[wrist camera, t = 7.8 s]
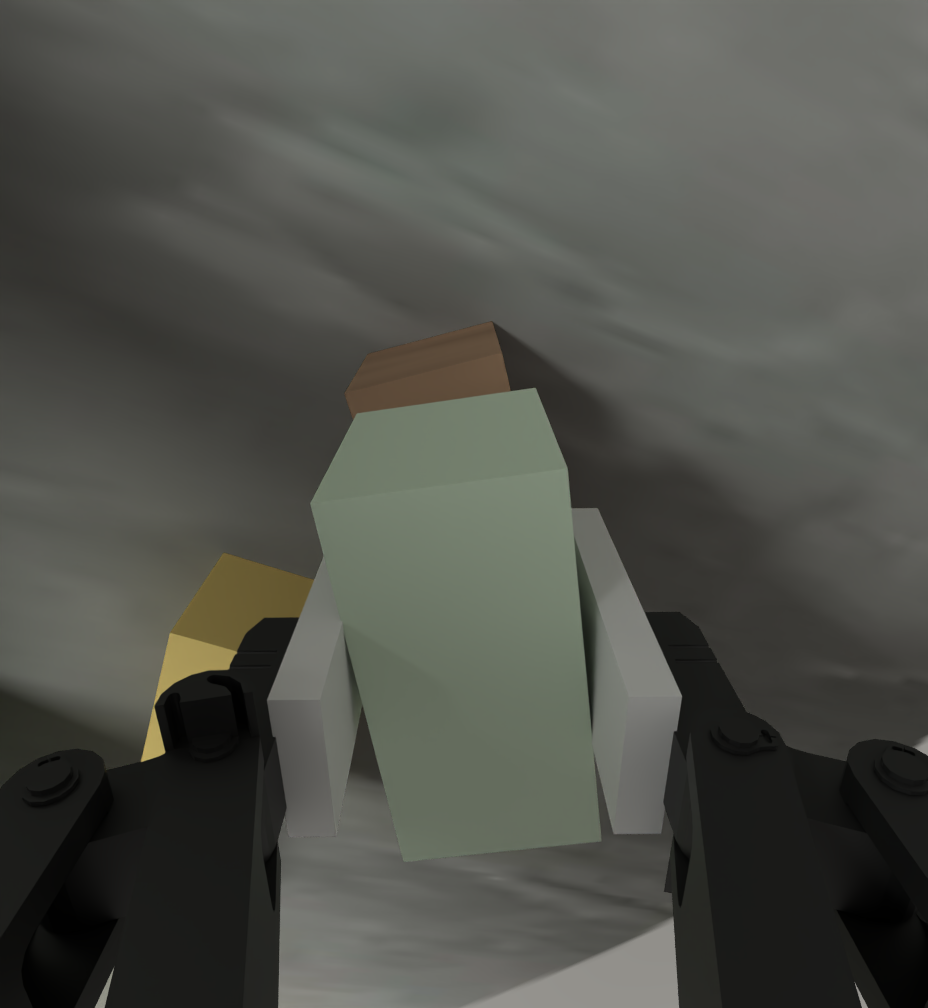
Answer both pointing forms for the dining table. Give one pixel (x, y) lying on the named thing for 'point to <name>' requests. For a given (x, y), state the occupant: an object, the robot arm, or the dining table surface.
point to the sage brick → (464, 622)
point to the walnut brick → (430, 371)
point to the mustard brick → (224, 623)
